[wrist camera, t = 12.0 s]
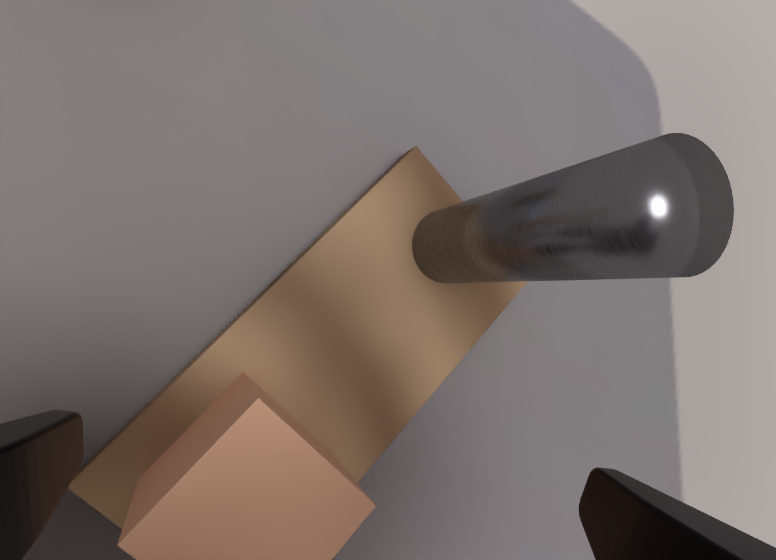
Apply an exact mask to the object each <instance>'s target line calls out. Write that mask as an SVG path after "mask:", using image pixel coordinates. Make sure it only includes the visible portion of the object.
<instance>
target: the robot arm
mask: <svg viewBox="0 0 776 560" xmlns="http://www.w3.org/2000/svg"><path fill="white" fill-rule="evenodd" d="M82 459H83V427H82V418H81V415H80V414H79V413H77V412H72V411H63V410H52V411H48V412H44V413H40V414H36V415H33V416H29V417H25V418H21V419H17V420H13V421H10V422H6V423H2V424H0V560H22V558H23V557H24V556H25V554H26V553H27V552H28V550H29V549H30V547H31V546H32V545H33V543H34V542H35V540H36V539H37V537H38V536H39V534H40V533H41V531H42V529H43V528H44V526H45V524H46V523H47V521H48V520H49V518H50V516H51V515H52V513H53V511H54V510H55V508H56V506H57V505H58V503H59V501H60V500H61V498H62V497H63V495H64V493H65V492H66V490H67V488H68V487H69V485H70V483H71V482H72V480H73V479H74V477H75V475H76V474H77V472H78V470H79V468H80V466H81V463H82ZM579 516H580V520H581V522H582V525H583V528H584V530H585V533H586V536H587V538H588V541H589V543H590V546H591V549H592V551H593V554H594V557H595V559H596V560H776V548H775V547H773V546H771V545H769V544H766V543H765V542H763V541H760V540H758V539H757V538H754V537H752V536H750V535H748V534H746V533H744V532H742V531H740V530H738V529H736V528H734V527H732V526H730V525H728V524H726V523H724V522H722V521H720V520H718V519H716V518H713V517H712V516H709V515H707V514H705V513H703V512H701V511H699V510H697V509H695V508H693V507H691V506H689V505H687V504H685V503H683V502H681V501H679V500H677V499H675V498H673V497H671V496H669V495H667V494H665V493H662V492H660V491H658V490H656V489H654V488H652V487H650V486H648V485H646V484H644V483H642V482H640V481H638V480H636V479H634V478H632V477H630V476H628V475H626V474H624V473H622V472H620V471H617V470H614V469H607V468H594V469H593V470H592V471H591V472H590V474H589V477H588V480H587V483H586V485H585V488H584V491H583V494H582V496H581V499H580V503H579Z"/></svg>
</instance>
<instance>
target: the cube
mask: <svg viewBox="0 0 776 560" xmlns="http://www.w3.org/2000/svg"><path fill="white" fill-rule="evenodd" d="M375 507H376V505H375V503H374V502H373V501H372V500H371V499H370V497H369V496H368V495H367V494H366V493H365V491H364V490H363V489H362V488H361V487H360V485H359V484H358V483H357V482H356V481H355V479H354V478H353V477H352V476H351V475H350V473H349V472H348V471H347V470H346V469H345V467H344V466H343V465H342V464H341V462H340V461H339V460H338V459H337V458H336V456H335V455H333V454H332V453H331V452H330V451H329V450H328V449H327V448H326V447H325V446H324V445H323V444H321V443H320V442H319V441H318V440H317V439H316V438H315V437H314V436H313V435H312V434H311V433H310V432H308V431H307V430H306V429H305V428H304V427H303V426H302V425H301V424H300V423H299V422H298V421H297V420H295V419H294V418H293V417H292V416H291V415H290V414H289V413H288V412H287V411H286V410H285V409H284V408H282V407H281V406H280V405H279V404H278V403H277V402H276V401H275V400H274V399H273V398H272V397H270V396H269V395H268V394H267V393H266V392H265V391H264V390H263V389H262V388H261V387H260V386H259V385H257V384H256V383H255V382H254V381H253V380H252V379H251V378H250V377H249V376H248V375H247V374H246V373H244V372H243V373H242V374H241V375H240V376H239V377H238V378H237V379H236V380H235V381H234V382H233V383H232V384H231V385H230V386H229V387H228V388H227V389H226V390H225V391H224V392H223V393H222V394H221V395H220V396H219V397H218V398H217V399H216V400H215V401H214V402H213V403H212V404H211V405H210V406H209V407H208V408H207V409H206V410H205V411H204V412H203V413H202V414H201V415H200V416H199V417H198V418H197V419H196V421H195V422H194V423H193V424H192V425H191V426H190V427H189V428H188V429H187V430H186V431H185V432H184V433H183V434H182V435H181V436H180V437H179V438H178V439H177V440H176V441H175V442H174V443H173V444H172V445H171V446H170V447H169V448H168V449H167V450H166V451H165V452H164V453H163V454H162V455H161V456H160V457H159V458H158V459H157V460H156V461H155V462H154V463H153V464H152V465H151V466H150V467H149V468H148V469H147V470H146V471H145V472H144V473H143V474H142V475H141V476H140V477H139V478H138V481H137V484H136V487H135V490H134V494H133V497H132V500H131V503H130V506H129V510H128V513H127V516H126V519H125V522H124V525H123V529H122V532H121V535H120V538H119V541H118V545H117V546H119V547H120V548H121V549H123V550H124V551H125V552H127V553H128V554H129V555H131V556H132V557H133V558H134V559H136V560H332V559H333V558H334V557H335V555H336V554H337V553H338V552H339V551H340V549H341V548H342V547H343V546H344V544H345V543H346V542H347V541H348V540H349V538H350V537H351V536H352V535H353V533H354V532H355V531H356V530H357V529H358V527H359V526H360V525H361V524H362V523H363V521H364V520H365V519H366V518H367V516H368V515H369V514H370V513H371V512H372V510H373V509H374V508H375Z"/></svg>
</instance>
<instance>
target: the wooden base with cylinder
mask: <svg viewBox="0 0 776 560" xmlns="http://www.w3.org/2000/svg"><path fill="white" fill-rule="evenodd" d="M733 214H734V206H733V196H732V190H731V186H730V182H729V179H728V176H727V174H726V172H725V169H724V167H723V165H722V164H721V162H720V160H719V159H718V157H717V156H716V155H715V153H714V152H713V151H712V150H711V149H710V148H709V147H708V146H707V145H706V144H704V143H703V142H702V141H700V140H698V139H697V138H695V137H693V136H690V135H687V134H683V133H671V134H666V135H663V136H660V137H657V138H654V139H651V140H648V141H645V142H642V143H639V144H636V145H633V146H630V147H627V148H624V149H621V150H618V151H615V152H612V153H609V154H606V155H603V156H600V157H597V158H594V159H591V160H588V161H585V162H582V163H579V164H576V165H572V166H569V167H566V168H563V169H560V170H557V171H554V172H551V173H548V174H545V175H542V176H539V177H536V178H533V179H530V180H527V181H524V182H521V183H518V184H515V185H512V186H509V187H506V188H503V189H500V190H497V191H494V192H491V193H488V194H485V195H482V196H479V197H476V198H473V199H470V200H467V201H464V202H463V201H462V200H461V199H460V198H459V196H458V195H457V194H456V193H455V192H454V191H453V189H452V188H451V187H450V186H449V185H448V183H447V182H446V181H445V180H444V179H443V177H442V176H441V175H440V174H439V173H438V172H437V170H436V169H435V168H434V167H433V166H432V164H431V163H430V162H429V161H428V160H427V158H426V157H425V156H424V155H423V154H422V153H421V151H420V150H419V149H418V148H417V147H416V146H415V147H414V148H412V149H411V150H409V151H408V152H406V153H405V154H404V155H403V156H402V157H401V158H400V159H399V160H398V161H397V162H396V163H394V164H393V165H392V166H391V167H390V168H389V169H388V170H387V171H386V172H385V173H384V174H383V175H382V176H381V177H380V178H379V179H378V180H377V181H376V182H375V183H374V184H373V185H372V186H371V187H370V188H369V189H368V190H367V191H366V192H365V193H364V194H363V195H362V196H361V197H360V198H359V199H358V200H357V201H356V202H354V203H353V204H352V205H351V206H350V207H349V208H348V209H347V210H346V211H345V212H344V213H343V214H342V215H341V216H340V217H339V218H338V219H337V220H336V221H335V222H334V223H333V224H332V225H331V226H330V227H329V228H328V229H327V230H326V231H325V232H324V233H323V234H322V235H321V236H320V237H319V238H318V239H317V240H315V241H314V242H313V243H312V244H311V245H310V246H309V247H308V248H307V249H306V250H305V251H304V252H303V253H302V254H301V255H300V256H299V257H298V258H297V259H296V260H295V261H294V262H293V263H292V264H291V265H290V266H289V267H288V268H287V269H286V270H285V271H284V272H283V273H282V274H281V275H280V276H279V277H278V278H277V279H275V280H274V281H273V282H272V283H271V284H270V285H269V286H268V287H267V288H266V289H265V290H264V291H263V292H262V293H261V294H260V295H259V296H258V297H257V298H256V299H255V300H254V301H253V302H252V303H251V304H250V305H249V306H248V307H247V308H246V309H245V310H244V311H243V312H242V313H241V314H240V315H239V316H238V317H236V318H235V319H234V320H233V321H232V322H231V323H230V324H229V325H228V326H227V327H226V328H225V329H224V330H223V331H222V332H221V333H220V334H219V335H218V336H217V337H216V338H215V339H214V340H213V341H212V342H211V343H210V344H209V345H208V346H207V347H206V348H205V349H204V350H203V351H202V352H201V353H200V354H199V355H198V356H196V357H195V358H194V359H193V360H192V361H191V362H190V363H189V364H188V365H187V366H186V367H185V368H184V369H183V370H182V371H181V372H180V373H179V374H178V375H177V376H176V377H175V378H174V379H173V380H172V381H171V382H170V383H169V384H168V385H167V386H166V387H165V388H164V389H163V390H162V391H161V392H160V393H159V394H157V395H156V396H155V397H154V398H153V399H152V400H151V401H150V402H149V403H148V404H147V405H146V406H145V407H144V408H143V409H142V410H141V411H140V412H139V413H138V414H137V415H136V416H135V417H134V418H133V419H132V420H131V421H130V422H129V423H128V424H127V425H126V426H125V427H124V428H123V429H122V430H121V431H120V432H119V433H117V434H116V435H115V436H114V437H113V438H112V439H111V440H110V441H109V442H108V443H107V444H106V445H105V446H104V447H103V448H102V449H101V450H100V451H99V452H98V453H97V454H96V455H95V456H94V457H93V458H92V459H91V460H90V461H89V462H88V463H87V464H86V465H85V466H84V467H83V468H82V469H81V470H80V471H78V472H77V474H76V475H75V477H74V479H73V480H72V482H71V483H70V485H69V487H68V489H70V490H71V491H72V492H74V493H75V494H76V495H78V496H79V497H80V498H81V499H83V500H84V501H85V502H87V503H88V504H89V505H91V506H92V507H93V508H94V509H96V510H97V511H98V512H100V513H101V514H102V515H104V516H105V517H106V518H108V519H109V520H110V521H111V522H113V523H114V524H115V525H117V526H118V527H119V528H121V529H123V525H124V522H125V519H126V516H127V513H128V510H129V506H130V503H131V500H132V497H133V494H134V490H135V487H136V484H137V481H138V478H139V477H140V476H141V475H142V474H143V473H144V472H145V471H146V470H147V469H148V468H149V467H150V466H151V465H152V464H153V463H154V462H155V461H156V460H157V459H158V458H159V457H160V456H161V455H162V454H163V453H164V452H165V451H166V450H167V449H168V448H169V447H170V446H171V445H172V444H173V443H174V442H175V441H176V440H177V439H178V438H179V437H180V436H181V435H182V434H183V433H184V432H185V431H186V430H187V429H188V428H189V427H190V426H191V425H192V424H193V423H194V422H195V421H196V419H197V418H198V417H199V416H200V415H201V414H202V413H203V412H204V411H205V410H206V409H207V408H208V407H209V406H210V405H211V404H212V403H213V402H214V401H215V400H216V399H217V398H218V397H219V396H220V395H221V394H222V393H223V392H224V391H225V390H226V389H227V388H228V387H229V386H230V385H231V384H232V383H233V382H234V381H235V380H236V379H237V378H238V377H239V376H240V375H241V374H242V373H243V372H244V373H246V374H247V375H248V376H249V377H250V378H251V379H252V380H253V381H254V382H255V383H256V384H257V385H259V386H260V387H261V388H262V389H263V390H264V391H265V392H266V393H267V394H268V395H269V396H270V397H272V398H273V399H274V400H275V401H276V402H277V403H278V404H279V405H280V406H281V407H282V408H284V409H285V410H286V411H287V412H288V413H289V414H290V415H291V416H292V417H293V418H294V419H295V420H297V421H298V422H299V423H300V424H301V425H302V426H303V427H304V428H305V429H306V430H307V431H308V432H310V433H311V434H312V435H313V436H314V437H315V438H316V439H317V440H318V441H319V442H320V443H321V444H323V445H324V446H325V447H326V448H327V449H328V450H329V451H330V452H331V453H332V454H333V455H335V456H336V458H337V459H338V460H339V461H340V462H341V464H342V465H343V466H344V467H345V469H346V470H347V471H348V472H349V473H350V475H351V476H352V477H353V478H354V479H355V481H356V482H357V483H358V482H359V480H360V479H361V478H362V477H363V476H364V474H365V473H366V472H367V471H368V470H369V469H370V467H371V466H372V465H373V464H374V463H375V461H376V460H377V459H378V458H379V457H380V456H381V454H382V453H383V452H384V451H385V450H386V448H387V447H388V446H389V445H390V444H391V442H392V441H393V440H394V439H395V438H396V437H397V435H398V434H399V433H400V432H401V431H402V429H403V428H404V427H405V426H406V425H407V424H408V422H409V421H410V420H411V419H412V418H413V416H414V415H415V414H416V413H417V412H418V410H419V409H420V408H421V407H422V406H423V405H424V403H425V402H426V401H427V400H428V399H429V397H430V396H431V395H432V394H433V393H434V392H435V390H436V389H437V388H438V387H439V386H440V384H441V383H442V382H443V381H444V380H445V378H446V377H447V376H448V375H449V374H450V373H451V371H452V370H453V369H454V368H455V367H456V365H457V364H458V363H459V362H460V361H461V360H462V358H463V357H464V356H465V355H466V354H467V352H468V351H469V350H470V349H471V348H472V346H473V345H474V344H475V343H476V342H477V341H478V339H479V338H480V337H481V336H482V335H483V333H484V332H485V331H486V330H487V329H488V328H489V326H490V325H491V324H492V323H493V322H494V320H495V319H496V318H497V317H498V316H499V314H500V313H501V312H502V311H503V310H504V309H505V307H506V306H507V305H508V304H509V303H510V301H511V300H512V299H513V298H514V297H515V296H516V294H517V293H518V292H519V291H520V290H521V288H522V287H523V286H524V285H525V284H526V282H527V281H557V280H595V279H633V278H670V277H691V276H695V275H698V274H700V273H703V272H704V271H706V270H707V269H709V268H710V267H711V266H712V265H713V264H714V263H716V261H717V260H718V259H719V258H720V256H721V255H722V253H723V251H724V250H725V248H726V245H727V243H728V240H729V238H730V234H731V230H732V225H733Z"/></svg>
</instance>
